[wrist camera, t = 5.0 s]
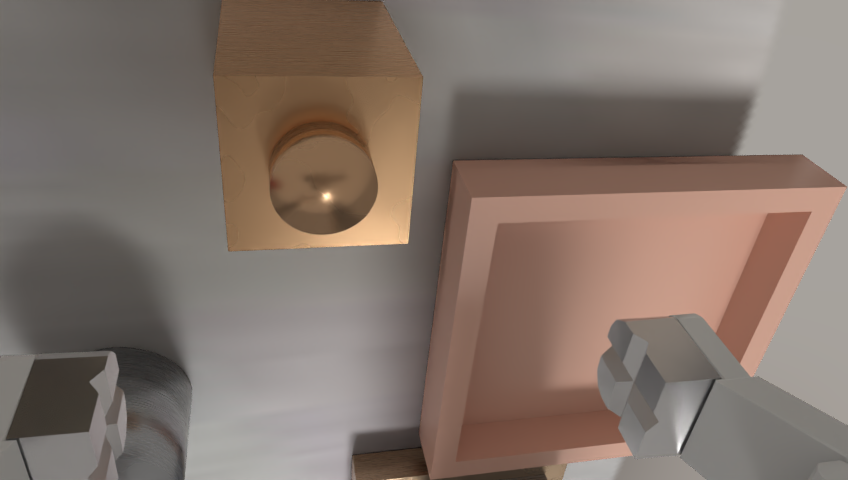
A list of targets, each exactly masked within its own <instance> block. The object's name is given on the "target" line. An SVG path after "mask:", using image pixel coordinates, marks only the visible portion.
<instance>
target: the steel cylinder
mask: <svg viewBox="0 0 848 480" xmlns="http://www.w3.org/2000/svg"><path fill="white" fill-rule="evenodd" d="M96 351H113V352H114V353H115V354H116V358H117V362H118V367H119V373H118V378H117V383H116V386H118V387H119V388H120V389H122V390H123V391H124V396H125V401H126V412H127V426H126V439H125V445H124V451H123V453H122V454H121V455H120V456H119V457H118V458H117V459H116V460H115V464H116V469H117V473H118V480H184V479H185V468H186V457H187V446H188V435H189V424H190V413H191V402H192V388H191V384H190V382H189V379H188V378H187V376H186V375H185V373H184V372H183V371H182V370H181V369H180V367H178V366H177V365H176V364H175V363H173V362H172V361H170V360H169V359H167V358H165V357H163V356H161V355H159V354H156V353H153V352H150V351H146V350H142V349H136V348H126V347H117V348H106V349H100V350H96ZM92 352H93V351H92Z"/></svg>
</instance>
